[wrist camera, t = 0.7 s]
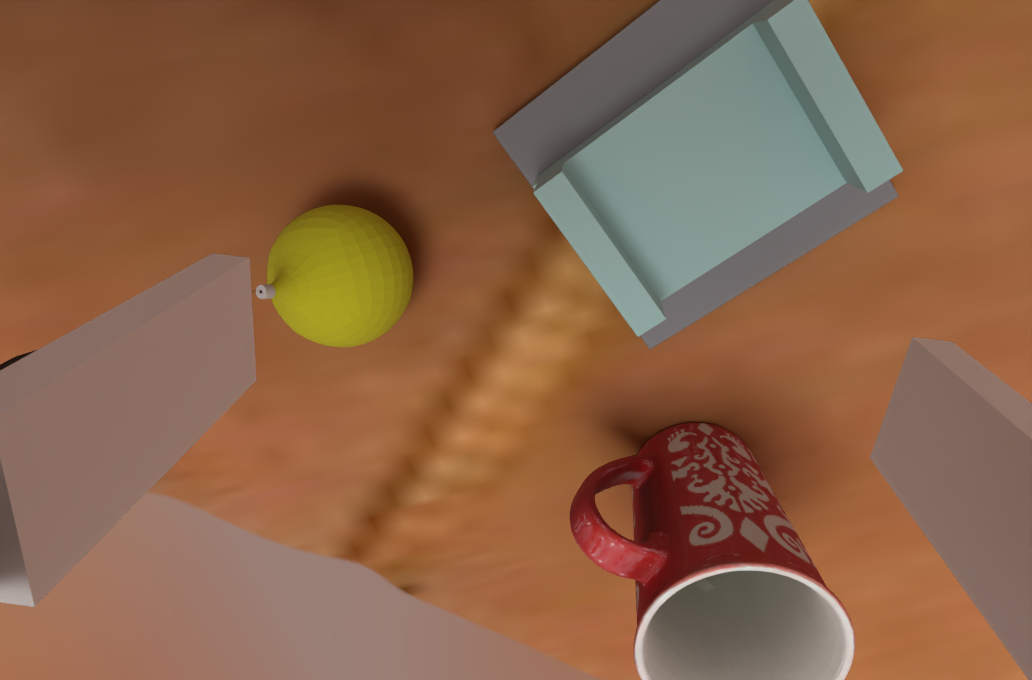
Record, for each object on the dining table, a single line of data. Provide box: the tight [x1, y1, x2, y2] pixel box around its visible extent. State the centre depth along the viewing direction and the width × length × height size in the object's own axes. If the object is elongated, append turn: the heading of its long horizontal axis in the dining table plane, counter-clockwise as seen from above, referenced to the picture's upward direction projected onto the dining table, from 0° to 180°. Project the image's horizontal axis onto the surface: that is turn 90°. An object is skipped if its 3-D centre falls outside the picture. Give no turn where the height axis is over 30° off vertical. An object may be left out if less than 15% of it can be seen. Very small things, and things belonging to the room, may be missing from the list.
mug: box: [570, 423, 855, 680], centre depth 35 cm, size 13×9×14 cm
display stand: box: [493, 0, 903, 349], centre depth 31 cm, size 14×14×6 cm
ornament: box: [252, 205, 413, 347], centre depth 33 cm, size 7×7×10 cm
